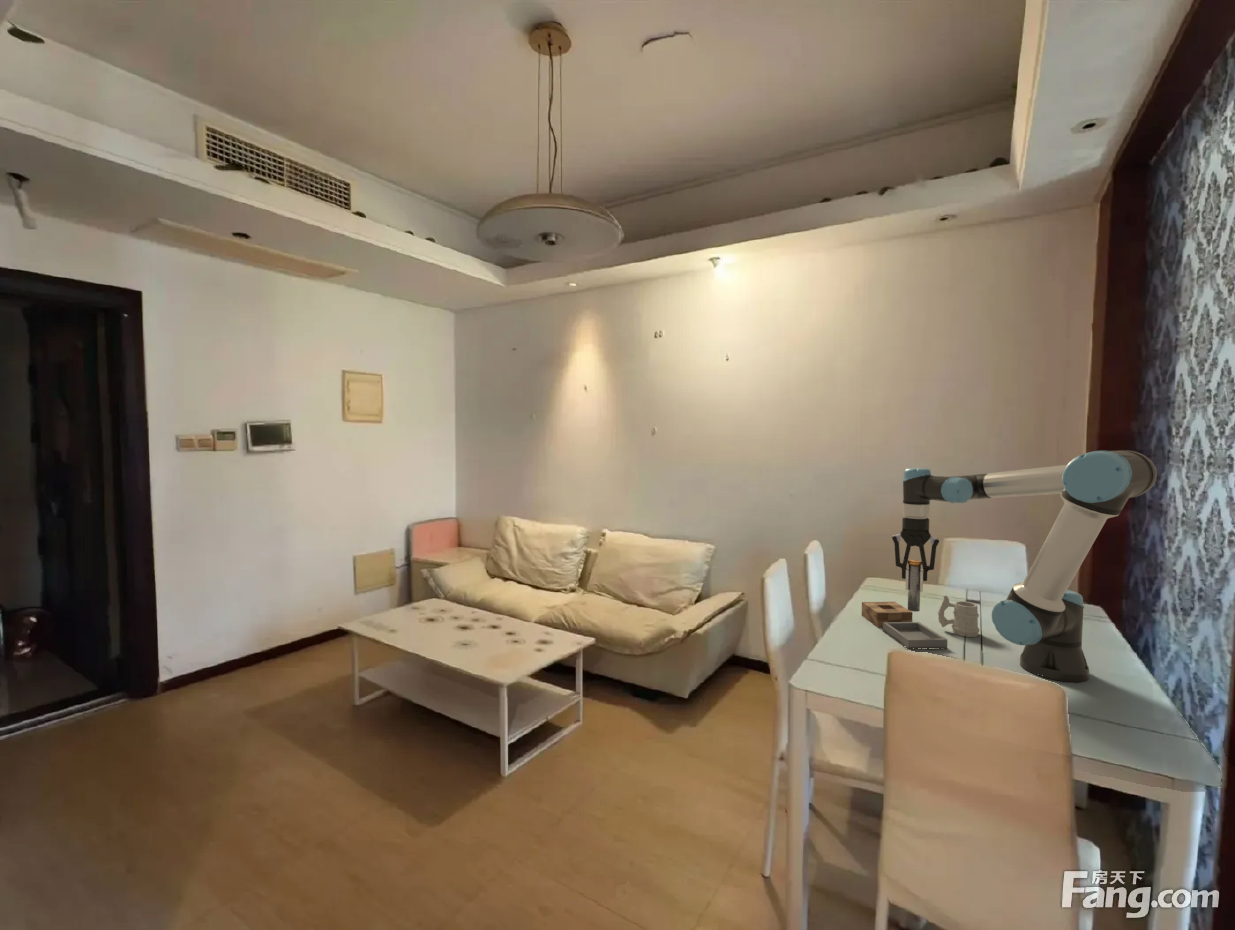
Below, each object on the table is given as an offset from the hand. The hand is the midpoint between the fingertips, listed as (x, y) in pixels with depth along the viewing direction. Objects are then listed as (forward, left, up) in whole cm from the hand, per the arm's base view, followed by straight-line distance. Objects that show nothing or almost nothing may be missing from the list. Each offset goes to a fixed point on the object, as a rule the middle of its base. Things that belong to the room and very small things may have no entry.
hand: (914, 589), depth 177 cm
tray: (0, 0, -16) cm, 16 cm away
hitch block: (+18, 0, -16) cm, 24 cm away
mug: (+6, -18, -16) cm, 25 cm away
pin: (0, 0, -7) cm, 7 cm away
